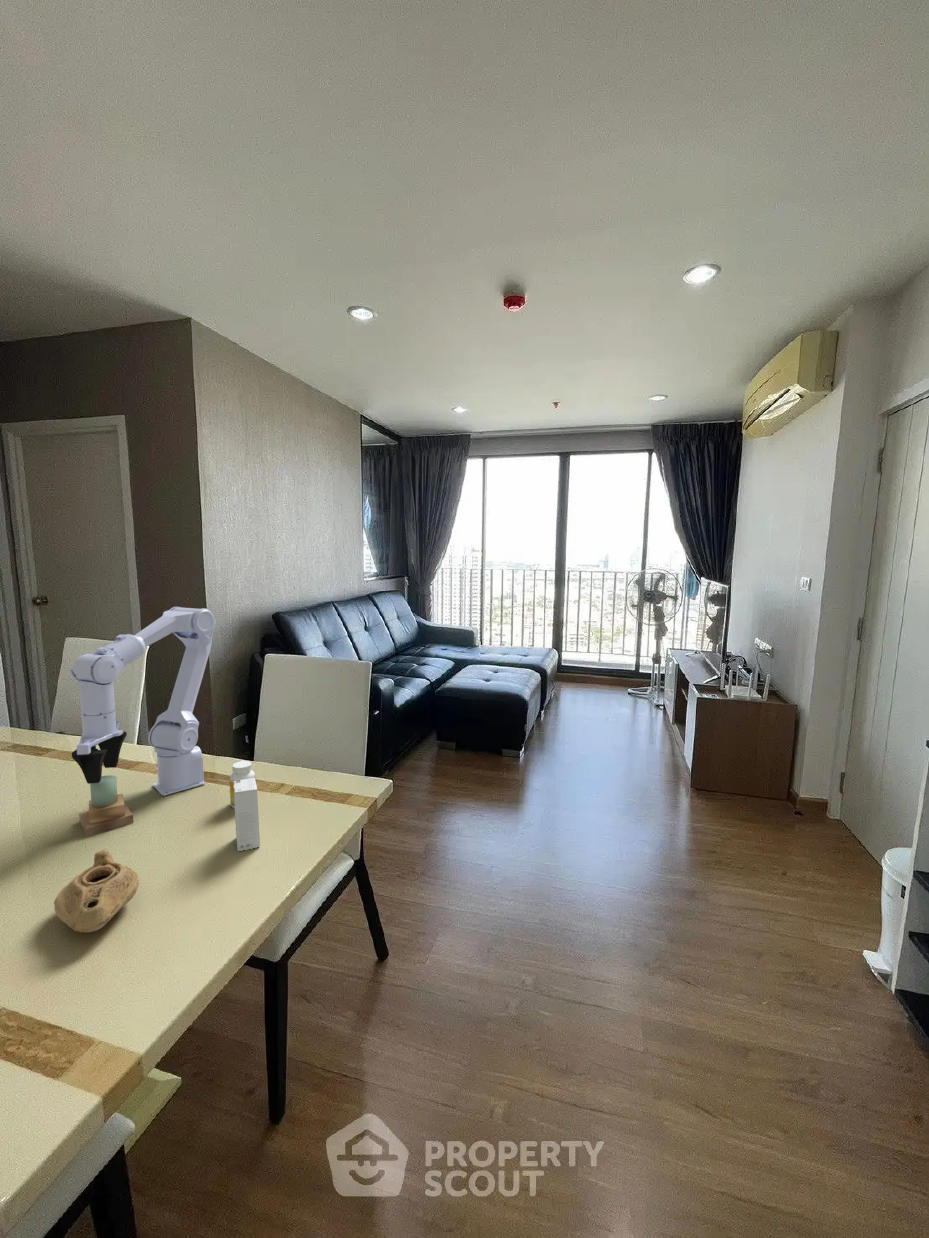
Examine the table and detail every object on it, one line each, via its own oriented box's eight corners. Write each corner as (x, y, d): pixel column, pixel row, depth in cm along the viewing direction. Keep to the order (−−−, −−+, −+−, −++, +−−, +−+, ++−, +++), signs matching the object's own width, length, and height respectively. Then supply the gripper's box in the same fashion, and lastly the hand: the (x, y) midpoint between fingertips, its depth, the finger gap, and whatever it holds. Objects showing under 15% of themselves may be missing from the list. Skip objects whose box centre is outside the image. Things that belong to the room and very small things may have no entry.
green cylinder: (121, 797, 110) (120, 774, 110) (110, 807, 106) (109, 784, 105) (98, 798, 110) (97, 775, 109) (86, 808, 105) (85, 785, 105)
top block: (123, 804, 112) (122, 793, 112) (125, 815, 108) (124, 804, 107) (89, 811, 109) (88, 800, 109) (89, 823, 104) (88, 812, 104)
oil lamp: (57, 962, 72) (53, 909, 71) (54, 904, 83) (50, 858, 82) (148, 927, 79) (145, 879, 78) (133, 878, 90) (131, 836, 89)
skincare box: (260, 847, 100) (259, 789, 99) (235, 852, 99) (234, 793, 97) (258, 832, 106) (257, 776, 104) (234, 836, 104) (233, 780, 103)
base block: (124, 811, 114) (123, 801, 114) (133, 825, 108) (132, 814, 108) (79, 824, 108) (79, 813, 108) (87, 839, 103) (86, 828, 103)
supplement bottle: (236, 798, 120) (235, 759, 119) (259, 798, 120) (258, 759, 119) (226, 809, 115) (225, 768, 114) (250, 809, 115) (249, 769, 114)
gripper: (104, 722, 99) (108, 788, 101) (134, 701, 113) (137, 759, 115) (62, 723, 98) (67, 791, 100) (98, 702, 112) (102, 761, 114)
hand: (102, 774), depth 107 cm, fingers open, 7 cm apart
